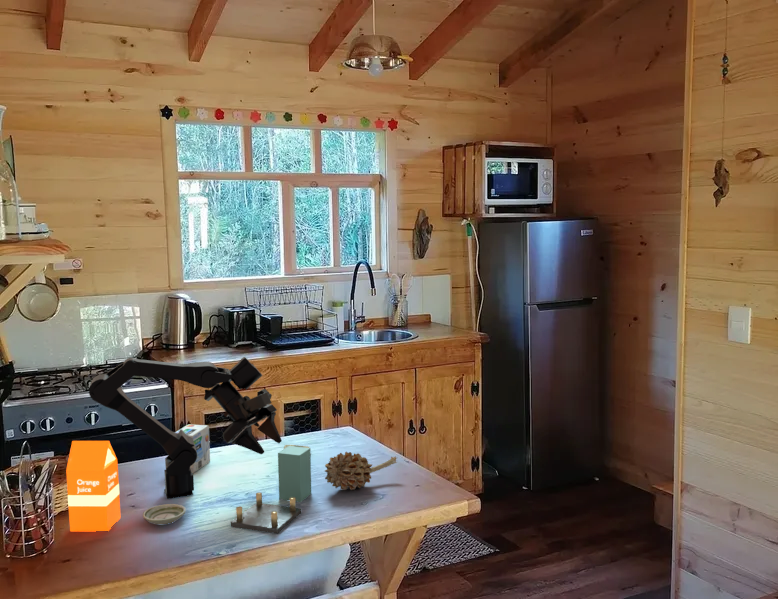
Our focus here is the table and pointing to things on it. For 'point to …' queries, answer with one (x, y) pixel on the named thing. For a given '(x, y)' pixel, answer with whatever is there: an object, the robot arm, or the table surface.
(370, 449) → the table surface
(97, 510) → the orange juice
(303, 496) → the teal block
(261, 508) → the plate
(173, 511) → the saucer
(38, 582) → the table surface
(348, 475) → the pine cone
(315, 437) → the table surface
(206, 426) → the light bulb box
